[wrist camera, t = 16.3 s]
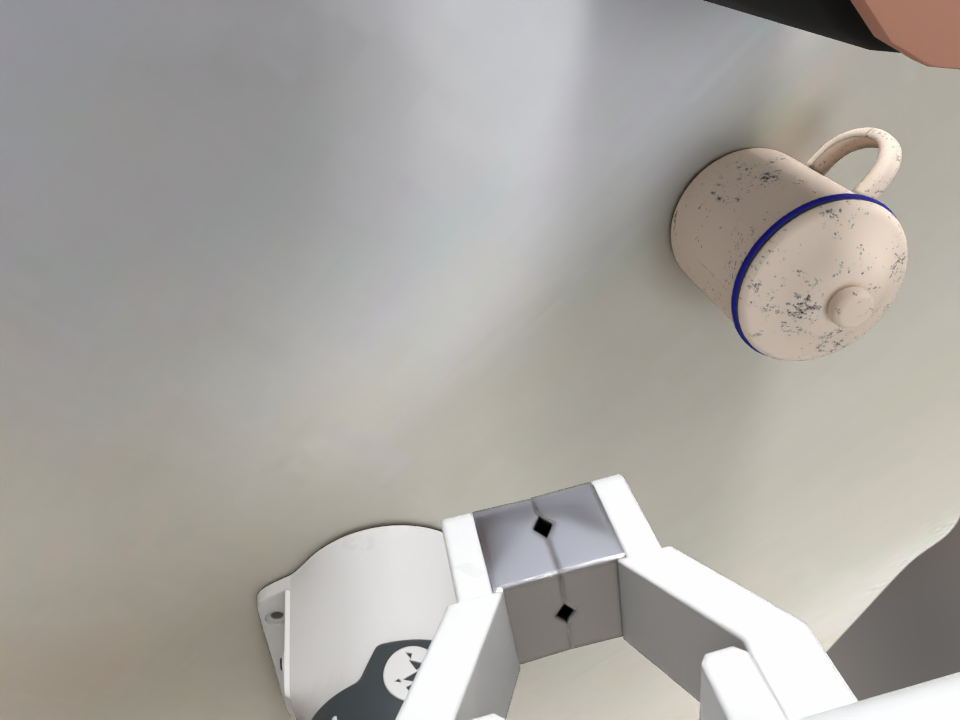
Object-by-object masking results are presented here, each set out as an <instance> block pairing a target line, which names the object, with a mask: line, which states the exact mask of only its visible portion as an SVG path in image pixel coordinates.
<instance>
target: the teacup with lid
mask: <svg viewBox="0 0 960 720" xmlns="http://www.w3.org/2000/svg"><path fill="white" fill-rule="evenodd" d="M863 148H879V151H878V157H877V160H876V162H875V164H874V166H873V167H872V169H871V170H870V172H869V173H868V174H867V175H866V176H865V178H864V179H863V180H862V181H861V182H860V183H859V184H858V186H857V187H856V188H855V189H854V190H853V191H852V192H851V191H849V190H847V189H846V188H844V187H842V186H840V185H839V184H837V183H835V182H833V181H831V180H830V179H828V178H826V177H824V175H825V174H826V173H827V172H828V171H829V169H830V168H831V167H832V166H833V165H834V164H835V163H836V162H838V161H839V160H840V159H841V158H843V157H844V156H846V155H847V154H849V153H851V152H853V151H856V150H859V149H863ZM901 157H902V152H901V147H900V145H899V143H898V142H897V140H896V139H894V138H893V137H892V136H891V135H890V134H889V133H887V132H885V131H883V130H880V129H876V128H859V129H854V130H850V131H848V132H845V133H842V134H840V135H838V136H836V137H835V138H833V139H831V140H830V141H829V142H827V143H826V144H825V145H824V146H822V147H821V148H820V149H819V150H818V151H817V152H816V153H815V154H814V155H813V156H812V158H811V159H810V160H809V161H808V162H807V163H806V164H805V165H803V164H802V163H800V162H798V161H796V160H795V159H793V158H791V157H789V156H788V155H786V154H784V153H782V152H779V151H776V150H772V149H767V148H751V149H744V150H740V151H737V152H734V153H731V154H728V155H726V156H724V157H722V158H720V159H718V160H717V161H715V162H714V163H712V164H711V165H709V166H708V167H707V168H705V169H704V170H703V171H702V172H701V173H700V174H699V175H698V176H697V177H696V178H695V179H694V180H693V181H692V182H691V184H690V185H689V186H688V188H687V189H686V190H685V192H684V193H683V195H682V197H681V199H680V201H679V203H678V205H677V207H676V210H675V212H674V216H673V220H672V225H671V246H672V250H673V254H674V257H675V259H676V261H677V263H678V264H679V266H680V267H681V269H682V270H683V271H684V272H685V273H686V274H687V275H688V277H689V278H690V279H691V280H692V281H693V282H694V283H695V284H696V285H697V286H698V287H699V288H700V289H701V290H702V291H703V292H704V293H705V294H706V295H707V296H708V297H709V298H710V299H711V300H712V301H713V302H714V304H715V305H716V306H717V307H718V308H719V309H720V310H721V311H722V312H723V313H724V314H725V315H726V316H727V317H728V318H729V319H730V320H731V321H732V322H733V323H734V325H735V328H736V330H737V332H738V333H739V335H740V337H741V338H742V339H743V340H744V342H745V343H746V344H747V345H749V346H750V347H751V348H752V349H754V350H755V351H757V352H759V353H761V354H763V355H766V356H769V357H771V358H774V359H779V360H786V361H804V360H811V359H815V358H819V357H823V356H826V355H829V354H831V353H833V352H836V351H838V350H840V349H842V348H844V347H846V346H847V345H849V344H851V343H852V342H854V341H855V340H857V339H858V338H859V337H861V336H862V335H863V334H865V333H866V332H867V331H868V330H869V329H870V328H871V327H872V326H873V325H874V324H875V323H876V322H877V321H878V320H879V319H880V318H881V317H882V316H883V314H884V313H885V312H886V311H887V309H888V308H889V306H890V305H891V303H892V302H893V300H894V298H895V297H896V295H897V293H898V291H899V289H900V287H901V284H902V281H903V278H904V275H905V271H906V266H907V258H908V250H907V242H906V238H905V234H904V231H903V229H902V226H901V225H900V223H899V221H898V220H897V218H896V216H895V215H894V214H893V212H892V211H891V210H890V209H889V208H888V207H887V206H885V205H884V204H882V203H881V202H879V201H878V200H876V199H877V198H878V197H879V196H880V195H881V194H882V193H883V192H884V190H885V189H886V188H887V187H888V186H889V184H890V183H891V182H892V180H893V179H894V177H895V175H896V174H897V172H898V169H899V167H900V163H901Z"/></svg>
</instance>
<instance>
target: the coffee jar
mask: <svg viewBox="0 0 960 720" xmlns="http://www.w3.org/2000/svg"><path fill="white" fill-rule="evenodd" d="M705 1H708V2H711V3H715V4H718V5H721V6H725V7H728V8H731V9H735V10H738V11H741V12H745V13H748V14H751V15H755V16H758V17H762V18H765V19H768V20H772V21H775V22H778V23H782V24H785V25H788V26H792V27H795V28H798V29H802V30H805V31H808V32H812V33H815V34H818V35H822V36H825V37H829V38H832V39H835V40H839V41H842V42H845V43H849V44H852V45H855V46H859V47H862V48H865V49H869V50H877V51H888V52H898V53H902V54H904V55H906V56H907V57H909V58H911V59H912V60H915V61H917V62H919V63H921V64H923V65H926V66H929V67H940V68H951V69H960V0H705Z"/></svg>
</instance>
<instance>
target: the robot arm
mask: <svg viewBox="0 0 960 720" xmlns="http://www.w3.org/2000/svg"><path fill="white" fill-rule="evenodd" d="M472 513H473V516H472ZM472 513H469V514H465V515H461V516H456V517H452V518H448V519H444V520H441V524H442V532H440V531H437V530H434V529H430V528H425V527H419V526H408V525H393V526H382V527H375V528H370V529H366V530H362V531H359V532H355V533H352V534H350V535H347V536H344V537H342V538H340V539H338V540H336V541H334V542H332V543H330V544H328V545H327V546H325V547H323V548H322V549H320V550H319V551H318V552H316V553H315V554H314V555H313V556H312V557H310V558H309V559H308V560H307V561H306V562H305V563H304V564H303V565H302V566H301V567H300V568H299V569H298V570H297V571H296V572H294V573H293V574H291V575H290V576H288V577H285V578H283V579H281V580H279V581H276V582H274V583H272V584H270V585H268V586H267V587H265V588H263V589H262V590H261V591H260V592H259V593H258V595H257V608H258V613H259V616H260V620H261V623H262V627H263V630H264V633H265V637H266V640H267V644H268V647H269V651H270V654H271V657H272V661H273V664H274V668H275V671H276V675H277V678H278V682H279V685H280V688H281V692H282V695H283V699H284V702H285V706H286V709H287V711H288V713H289V715H291V716H292V717H295V718H296V720H506V716H507V713H508V709H509V706H510V702H511V699H512V695H513V692H514V688H515V685H516V681H517V678H518V674H519V671H520V664H523V663H527V662H530V661H533V660H536V659H540V658H543V657H546V656H549V655H553V654H556V653H559V652H563V651H566V650H569V649H573V648H577V647H581V646H585V645H589V644H593V643H597V642H601V641H605V640H609V639H613V638H617V637H621V636H623V638H624V640H626V641H627V642H628V643H629V644H630V645H632V646H633V647H634V648H635V649H637V650H638V651H639V652H640V653H641V654H643V655H644V656H645V657H646V658H647V659H649V660H650V661H651V662H652V663H653V664H655V665H656V666H657V667H658V668H659V669H661V670H662V671H663V672H664V673H665V674H667V675H668V676H669V677H670V678H671V679H673V680H674V681H675V682H676V683H677V684H679V685H680V686H681V687H682V688H684V689H685V690H686V691H687V692H688V693H690V694H691V695H692V696H693V697H694V698H696V699H697V700H698V701H699V702H700V719H699V720H960V672H958V673H955V674H952V675H948V676H945V677H941V678H938V679H934V680H931V681H927V682H924V683H920V684H917V685H913V686H910V687H907V688H903V689H900V690H896V691H893V692H889V693H886V694H883V695H879V696H875V697H872V698H869V699H865V700H862V701H858V700H857V699H856V697H855V696H854V694H853V693H852V691H851V690H850V688H849V687H848V685H847V684H846V682H845V681H844V679H843V678H842V676H841V675H840V673H839V672H838V670H837V669H836V667H835V666H834V664H833V663H832V661H831V660H830V658H829V657H828V655H827V654H826V652H825V651H824V649H823V648H822V646H821V645H820V643H819V642H818V640H817V639H816V637H815V636H814V634H813V633H812V631H811V630H810V628H809V627H808V625H807V624H806V623H804V622H802V621H801V620H799V619H797V618H796V617H794V616H792V615H790V614H789V613H787V612H785V611H783V610H782V609H780V608H778V607H776V606H775V605H773V604H771V603H769V602H768V601H766V600H764V599H762V598H761V597H759V596H757V595H755V594H754V593H752V592H750V591H748V590H747V589H745V588H743V587H741V586H740V585H738V584H736V583H734V582H733V581H731V580H729V579H727V578H726V577H724V576H722V575H720V574H719V573H717V572H715V571H713V570H712V569H710V568H708V567H706V566H705V565H703V564H701V563H699V562H698V561H696V560H694V559H692V558H691V557H689V556H687V555H685V554H684V553H682V552H680V551H678V550H677V549H675V548H673V547H671V546H668V547H664V548H661V546H660V544H659V542H658V540H657V539H656V537H655V535H654V533H653V531H652V529H651V527H650V525H649V524H648V522H647V520H646V518H645V516H644V514H643V512H642V510H641V509H640V507H639V505H638V503H637V501H636V499H635V497H634V495H633V494H632V492H631V490H630V488H629V486H628V484H627V482H626V480H625V479H624V477H622V476H621V475H620V474H618V475H614V476H610V477H607V478H603V479H599V480H595V481H592V482H590V483H584V484H580V485H577V486H573V487H569V488H565V489H562V490H558V491H554V492H551V493H547V494H543V495H540V496H536V497H532V498H531V499H527V500H522V501H518V502H514V503H510V504H505V505H501V506H497V507H492V508H488V509H484V510H480V511H475V512H472ZM473 518H474V519H473ZM474 522H475V523H474Z"/></svg>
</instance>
